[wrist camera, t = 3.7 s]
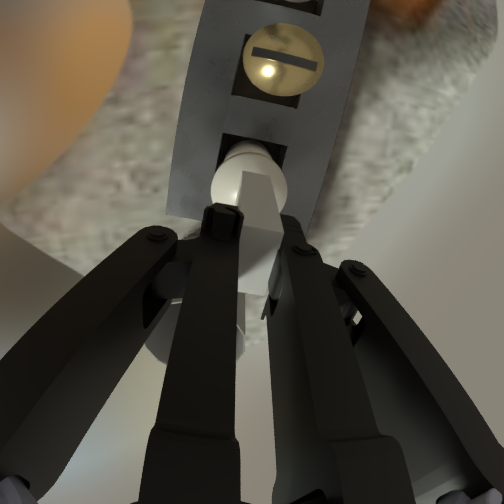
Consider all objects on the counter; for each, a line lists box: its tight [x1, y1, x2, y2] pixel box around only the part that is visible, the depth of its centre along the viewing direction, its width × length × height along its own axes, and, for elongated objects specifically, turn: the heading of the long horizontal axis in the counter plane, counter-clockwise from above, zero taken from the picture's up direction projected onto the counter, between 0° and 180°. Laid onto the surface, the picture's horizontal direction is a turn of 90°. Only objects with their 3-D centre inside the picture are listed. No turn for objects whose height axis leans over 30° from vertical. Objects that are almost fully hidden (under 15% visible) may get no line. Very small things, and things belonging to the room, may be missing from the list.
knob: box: [211, 140, 287, 213], centre depth 21 cm, size 5×5×8 cm
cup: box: [144, 235, 245, 365], centre depth 26 cm, size 8×8×10 cm
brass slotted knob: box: [243, 23, 324, 96], centre depth 15 cm, size 4×4×8 cm
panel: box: [166, 0, 370, 237], centre depth 20 cm, size 26×12×3 cm, turn 168°
